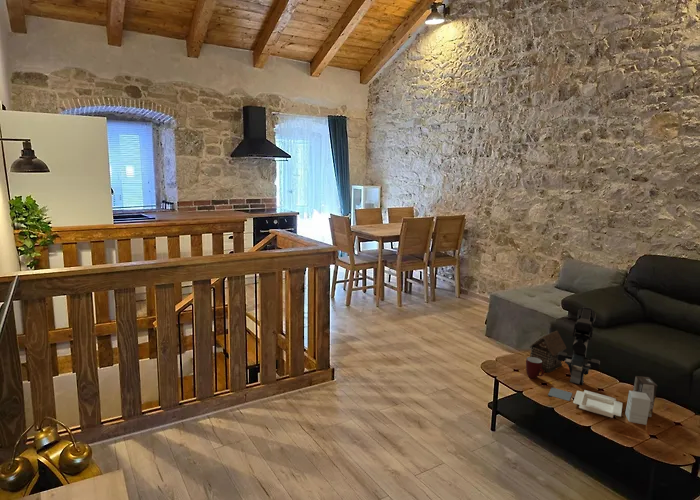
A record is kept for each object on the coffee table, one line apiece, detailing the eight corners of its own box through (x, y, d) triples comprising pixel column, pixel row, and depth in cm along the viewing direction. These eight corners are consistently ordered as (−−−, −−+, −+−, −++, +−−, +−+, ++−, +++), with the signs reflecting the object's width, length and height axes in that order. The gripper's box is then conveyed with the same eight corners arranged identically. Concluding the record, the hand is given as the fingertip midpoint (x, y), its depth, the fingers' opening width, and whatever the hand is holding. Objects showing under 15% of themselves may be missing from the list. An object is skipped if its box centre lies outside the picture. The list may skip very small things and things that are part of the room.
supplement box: (642, 417, 218) (646, 393, 216) (646, 426, 211) (651, 400, 209) (624, 414, 220) (628, 389, 218) (628, 422, 213) (632, 397, 211)
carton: (577, 392, 240) (577, 388, 239) (622, 404, 229) (622, 400, 229) (571, 409, 222) (572, 405, 222) (619, 424, 212) (620, 419, 211)
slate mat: (551, 388, 243) (551, 387, 243) (572, 394, 238) (572, 392, 238) (547, 395, 235) (548, 394, 235) (569, 402, 230) (569, 400, 229)
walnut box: (571, 375, 235) (573, 364, 234) (580, 377, 233) (582, 366, 232) (570, 381, 228) (571, 370, 227) (579, 383, 226) (581, 372, 225)
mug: (547, 380, 252) (549, 362, 250) (538, 383, 248) (541, 366, 246) (529, 372, 261) (532, 355, 259) (521, 375, 256) (523, 358, 254)
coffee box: (652, 417, 219) (658, 385, 216) (637, 415, 220) (642, 383, 217) (644, 407, 228) (649, 377, 225) (629, 405, 229) (635, 375, 226)
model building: (550, 374, 259) (554, 340, 255) (525, 365, 270) (529, 332, 266) (564, 366, 271) (569, 333, 267) (541, 357, 282) (545, 326, 278)
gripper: (557, 347, 225) (553, 377, 228) (600, 357, 216) (596, 388, 219) (560, 340, 234) (556, 369, 238) (602, 349, 225) (597, 379, 228)
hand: (575, 376), depth 230 cm, fingers closed on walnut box, 4 cm apart
